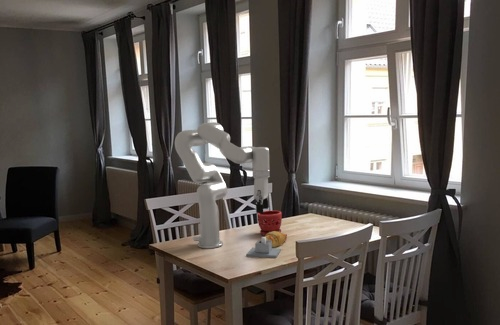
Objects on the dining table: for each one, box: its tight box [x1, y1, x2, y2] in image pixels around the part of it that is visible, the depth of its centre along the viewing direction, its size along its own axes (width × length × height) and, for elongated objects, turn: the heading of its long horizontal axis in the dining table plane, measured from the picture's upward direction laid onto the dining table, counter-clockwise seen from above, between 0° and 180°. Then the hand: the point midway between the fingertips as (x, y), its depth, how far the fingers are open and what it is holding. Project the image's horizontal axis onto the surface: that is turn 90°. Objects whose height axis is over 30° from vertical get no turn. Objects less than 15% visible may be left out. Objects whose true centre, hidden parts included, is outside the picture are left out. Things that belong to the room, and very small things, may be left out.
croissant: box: [264, 231, 288, 248], centre depth 227 cm, size 21×10×8 cm, turn 140°
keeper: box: [245, 236, 282, 259], centre depth 212 cm, size 14×11×8 cm
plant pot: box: [256, 210, 283, 237], centre depth 247 cm, size 13×13×12 cm
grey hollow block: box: [254, 239, 273, 254], centre depth 212 cm, size 6×6×4 cm
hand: (262, 210), depth 211 cm, fingers open, 9 cm apart
